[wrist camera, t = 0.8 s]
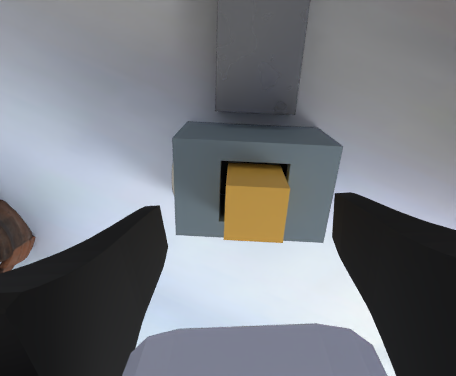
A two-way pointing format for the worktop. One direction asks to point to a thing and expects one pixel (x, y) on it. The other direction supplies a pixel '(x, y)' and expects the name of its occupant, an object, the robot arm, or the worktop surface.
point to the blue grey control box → (253, 152)
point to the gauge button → (255, 202)
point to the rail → (259, 55)
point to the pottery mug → (13, 238)
